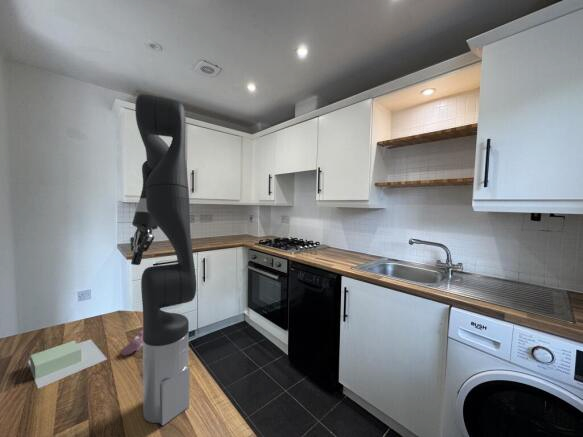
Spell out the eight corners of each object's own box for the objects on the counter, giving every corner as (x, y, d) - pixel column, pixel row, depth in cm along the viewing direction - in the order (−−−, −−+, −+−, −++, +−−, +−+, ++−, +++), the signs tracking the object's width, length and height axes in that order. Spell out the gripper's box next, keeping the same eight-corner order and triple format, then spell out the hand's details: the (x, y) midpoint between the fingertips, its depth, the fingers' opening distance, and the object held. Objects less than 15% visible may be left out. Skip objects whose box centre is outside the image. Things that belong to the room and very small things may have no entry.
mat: (107, 360, 69) (107, 359, 69) (37, 389, 58) (37, 388, 58) (90, 340, 78) (90, 339, 78) (27, 362, 67) (27, 361, 67)
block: (81, 349, 67) (34, 366, 60) (81, 361, 68) (34, 380, 60) (74, 340, 71) (29, 355, 64) (74, 351, 72) (30, 368, 64)
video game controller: (131, 362, 71) (141, 343, 70) (117, 355, 70) (128, 335, 70) (151, 343, 80) (160, 325, 80) (139, 336, 80) (148, 319, 80)
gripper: (128, 213, 82) (114, 263, 77) (145, 208, 74) (131, 263, 69) (150, 219, 87) (139, 266, 82) (168, 214, 80) (157, 265, 75)
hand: (135, 264), depth 76 cm, fingers closed
